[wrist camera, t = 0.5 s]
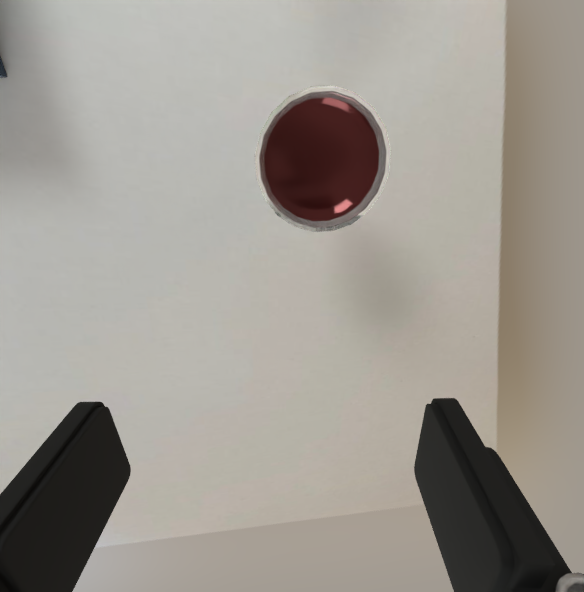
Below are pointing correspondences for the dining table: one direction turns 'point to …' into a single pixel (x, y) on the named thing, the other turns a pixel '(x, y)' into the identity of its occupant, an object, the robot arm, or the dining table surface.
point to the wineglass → (322, 158)
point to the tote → (2, 69)
